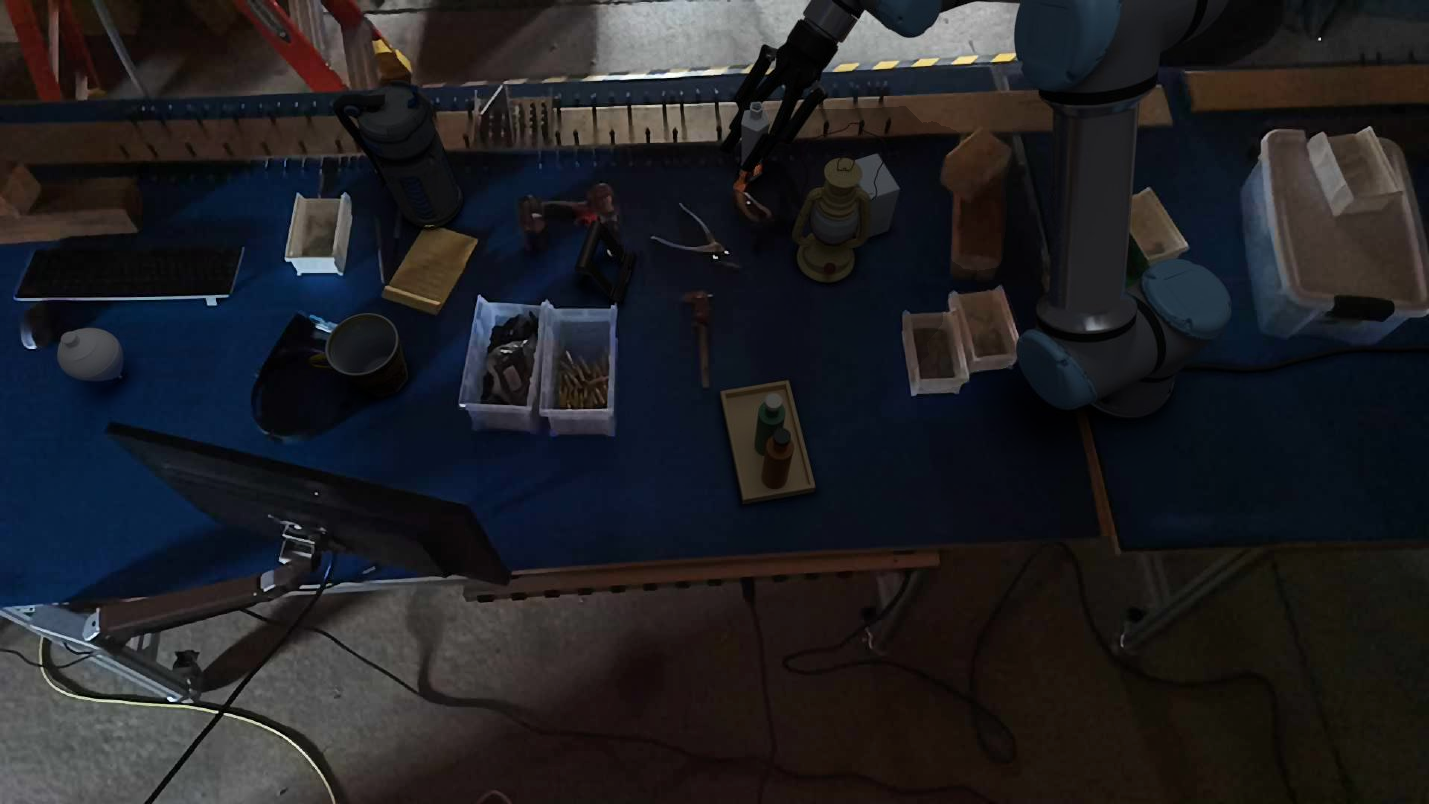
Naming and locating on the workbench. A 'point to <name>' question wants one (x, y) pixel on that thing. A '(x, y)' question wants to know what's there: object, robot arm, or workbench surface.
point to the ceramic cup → (366, 354)
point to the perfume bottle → (753, 130)
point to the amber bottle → (777, 459)
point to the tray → (742, 431)
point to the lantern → (833, 220)
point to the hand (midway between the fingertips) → (735, 160)
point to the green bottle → (768, 421)
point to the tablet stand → (589, 268)
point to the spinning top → (90, 355)
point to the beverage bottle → (404, 150)
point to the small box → (878, 193)
